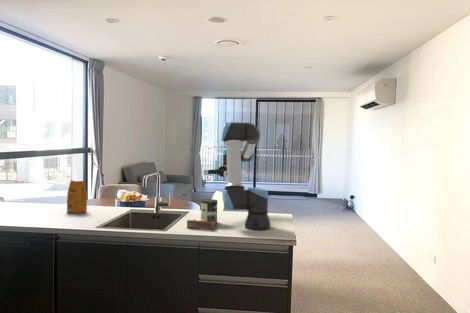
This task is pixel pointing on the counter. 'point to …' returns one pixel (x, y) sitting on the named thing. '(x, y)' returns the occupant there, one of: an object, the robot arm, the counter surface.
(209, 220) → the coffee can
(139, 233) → the counter surface
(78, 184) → the coffee package
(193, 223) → the brown wooden tray
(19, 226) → the counter surface
